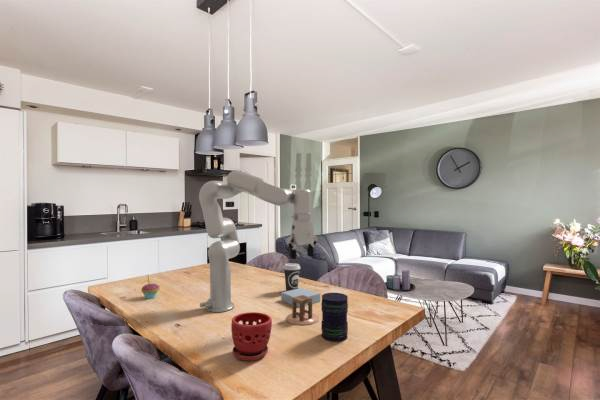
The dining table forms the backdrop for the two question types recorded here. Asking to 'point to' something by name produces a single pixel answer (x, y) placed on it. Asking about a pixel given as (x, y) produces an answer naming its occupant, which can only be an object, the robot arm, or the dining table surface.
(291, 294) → the step
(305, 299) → the stool
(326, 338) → the storage jar
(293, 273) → the coffee cup
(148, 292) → the cupcake
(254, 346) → the plant pot
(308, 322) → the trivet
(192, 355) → the dining table surface
